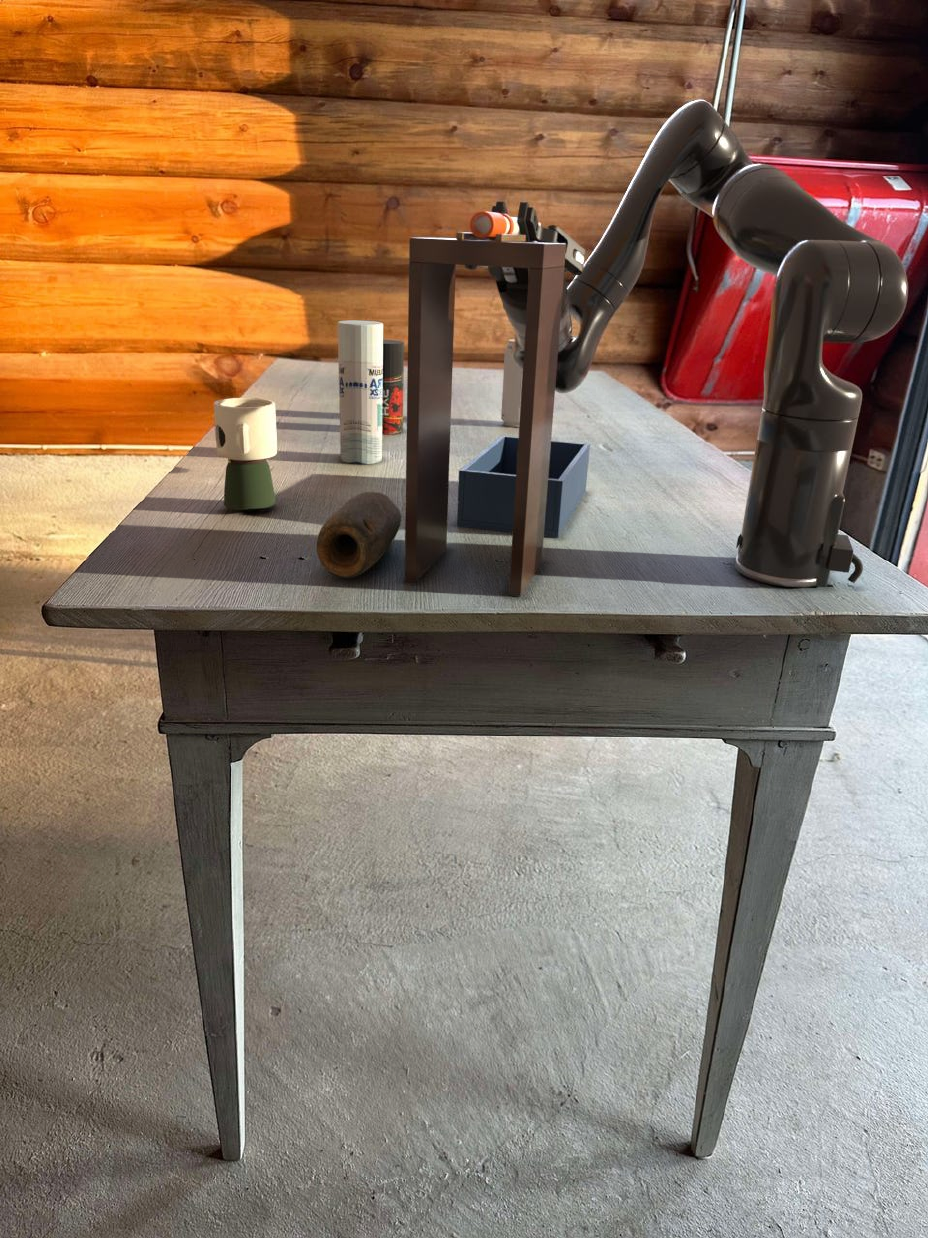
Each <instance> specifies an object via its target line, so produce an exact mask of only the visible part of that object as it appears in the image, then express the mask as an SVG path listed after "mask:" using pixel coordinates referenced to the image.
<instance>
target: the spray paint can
mask: <svg viewBox="0 0 928 1238" xmlns="http://www.w3.org/2000/svg"><path fill="white" fill-rule="evenodd" d="M383 340H384V323H383V322H381V321H374V320H362V319H361V320H359V319H357V320H352V319H351V320H350V319H349V320H339V321H338V322H337V351H338V353H337V354H338V397H339V398H338V399H339V403H338V404H339V433H340V435H339V447H340V460H341V461H342V462H344V463H347V464H350V465H351V464H352V465H372V464H378V463H380V462H382V458H383V434H382V390H383Z"/></svg>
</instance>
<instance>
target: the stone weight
mask: <svg viewBox="0 0 928 1238" xmlns="http://www.w3.org/2000/svg"><path fill="white" fill-rule="evenodd" d="M401 524H402V513H401V510H400V508H398V506H397V505H396V504H395V503H394V502H393V501H392V500H391V498H390V497H389V496H388V495H386V494H384V493H383V492H379V491H364V492H360V493H358V494H356V495H355V496H353V497H350V499H348V500H347V501H346V502H345V503H344V504H342V506H340V507H339V508H338V509H337V510H336V511H335V512H334V513H333V514H332V515H331V516H330V517H328V519H327V520H326V521H325V522H324V523H323V525H322V526H321V528H320V530H319V532H318V534H317V538H316V553H317V557H318V561H319V562H320V564H321V565H322V567H323V568H324V569H325V570H326V571H328V572H329V573H331V574H333V575H335V576H338V577H340V578H341V577H342V578H346V579H349V578H350V579H351V578H355V577H357V576H359V575H362V574H364V573H365V572H366V571H368V570H370V568H372V567H373V566H374V565H375V564H377V562H378V561H379V560H380V559H381V558H382V557H383V556H384V554H385V553H386V551H387V550H388V549H389V548H390V547H391V545H392V543H393V542H394V539H395V538H396V536H397V534H398V532H399V530H400V527H401Z"/></svg>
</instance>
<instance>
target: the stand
mask: <svg viewBox="0 0 928 1238" xmlns="http://www.w3.org/2000/svg"><path fill="white" fill-rule="evenodd" d="M455 234H456V235H455V238H451V237H409V247H408V248H409V250H408V251H409V252H408V253H409V254H408V303H407V304H408V306H407V307H408V313H407V314H408V315H407V371H406V372H407V375H406V376H407V377H406V378H407V379H406V380H407V382H406V443H405V444H406V445H405V446H406V448H405V451H406V452H405V510H404V511H405V513H404V514H405V515H404V517H405V518H404V522H405V523H404V577H403V578H404V582H409V583H417V582H418V580H420V579H421V577H422V576H423V575H424V574H425V573H426V572H427V571H428V570H429V569H430V568H431V566H433V565H434V564H435V562H437V560H439V558H440V557H441V556H442V555H443V554H444V553H445V552H446V551H447V544H448V542H447V541H448V516H449V515H448V513H449V511H448V510H449V486H450V485H449V483H450V454H451V451H450V450H451V427H452V425H451V424H452V423H451V422H452V397H453V395H452V394H453V368H454V367H453V365H454V364H453V363H454V337H455V335H454V334H455V307H456V305H455V303H456V277H457V275H456V273H457V272H456V271H457V266H465V265H473V266H477V267H483V266H492V267H512V268H530V269H529V281H528V297H527V313H526V329H525V344H524V360H523V376H522V392H521V408H520V424H519V427H518V437H519V440H518V455H517V471H516V487H515V503H514V519H513V532H512V537H511V552H510V567H509V569H510V570H509V585H508V596H511V597H518V598H520V597H522V595H523V593H524V591H526V588H527V587H528V585H529V583H530V582H531V581H532V579H533V578H534V575H535V574H536V572H537V571H538V569H539V567H540V565H541V564H542V561H543V552H544V540H545V539H544V537H545V536H544V526H545V513H546V500H547V487H548V474H549V462H550V449H551V440H552V435H553V423H554V408H555V395H556V391H555V384H556V371H557V358H558V345H559V332H560V319H561V306H562V293H563V280H564V276H565V275H564V265H565V254H566V244H565V243H558V242H557V243H542V242H525V241H526V235H515V234H496V235H495V240H490V239H481V238H477V237H476V236H474V235H473V233H472V232H466V231H465V232H462V231H457V232H456V233H455Z"/></svg>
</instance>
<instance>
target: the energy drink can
mask: <svg viewBox="0 0 928 1238" xmlns="http://www.w3.org/2000/svg"><path fill="white" fill-rule="evenodd" d="M514 341H515V338H514V339H513V338H511V339H508V344H507V346H506V347H505V348H504V357H503V361H504V363H503V379H502V396H501V412H500V413H501V415H500V419H501V420H502V422H503V425H504V426H507V427H511V428H519V424H520V408H521V392H522V376H523V369H522V368H520V367H519V366H518V365H517V363H516V362H515V361H514V359H513V357H512V348H513V345H514Z"/></svg>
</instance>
